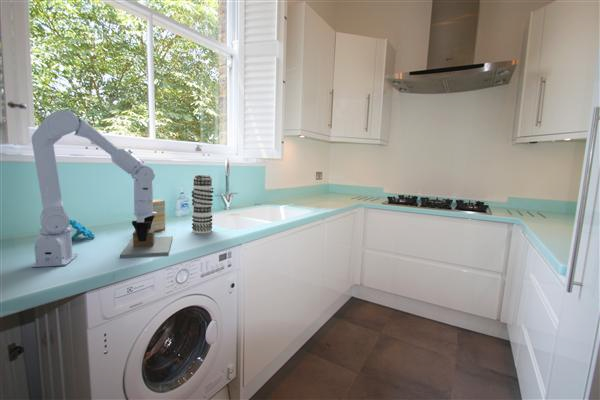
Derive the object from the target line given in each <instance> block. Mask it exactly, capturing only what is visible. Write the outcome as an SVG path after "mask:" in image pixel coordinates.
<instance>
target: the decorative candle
mask: <svg viewBox="0 0 600 400" xmlns="http://www.w3.org/2000/svg"><path fill="white" fill-rule="evenodd" d="M192 179H193V185H192V190H191V197H192V198H191V201H192V203H191V205H192V206H193V211H192V216H191V217H192V219H191V222H192V223H191V226H192V227H191V229H192V233H194V234H209V233H212V232H213V226H212V225H213V222H212V221H213V219H212V218H213V215H212V214H213V213H212V207H213V205H214V204H213V203H212V202H213V201H214V199H213V198H214V195H212V194H213V193H214V187H213V185H212V183H213V182H212V181H213V178H212V177H211V176H210V175H209V174H196V175H194V176H193V178H192Z"/></svg>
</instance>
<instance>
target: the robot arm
mask: <svg viewBox="0 0 600 400" xmlns="http://www.w3.org/2000/svg"><path fill="white" fill-rule="evenodd" d="M74 132H75V133H74ZM72 133H74V136H78V137H81V138H85V139H88V140H89V141H90V142H91V143H93V144H94V145H95V146H97V147H99V148H100V149H101V150H103V151H104V152H105V153H107V154H108V155H110V157H111V162H112V163H113V164H115V165H116V166H117V167H119V168H120V169H121V170H123V171H124V172H125V173H126V174H128V175H130V176H131V178H132V179H133V200H134V201H133V204H134V205H133V207H134V208H133V210H134V211H133V216H134V217H136V220H132V221H131V224H132V226H133V228H134V231H135V230H136V233H137V237H138V240H139V242H140V241H146V239H147V233H148V229H151V224H152V221H153V219H154V217H155V215H156V214H157V212H153V200H154V196H153V195H154V193H153V188H154V187H153V180H154V179H155V177H156V174H155V173H154V170H153V168H151V167H150V166H147V165H145V161H143V160H140V159H138V157H136V156H135V155H133V151H132V150H131V149H126V148H118V147H117V146H116V145H115V144H114V143H113V142H111V141H110V139H108V138H107V137H105V136H104V135H103V134H102V133H100V131H98V130H97V129H96V128H95V127H94V126H93V125H91V124H90V123H88V122H87V121H86V120H84V119H82V118H81V117H77V115H76V114H75V113H74V112H72V111H70V110H66V109H58V110H55V111H54V112H51V113H50V114H48V115H47V116H46V117H45V118H44V119H43V120H42V122H41V123H40V124H39V126H38V127H37V128H36V130H35V131H34V132H33V134H32V136H31V144H32V151H33V156H34V161H35V167H36V173H37V180H38V187H39V192H40V197H41V203H42V211H41V213H40V226H41V228H40V229H39V231H38V233H39V238H38V239H37V240H36V242H35V244H34V256H35V258H34V259H35V263H33V264H32V265H31V267H32V268H41V267H55V266H56V267H57V266H67V265H68V264H69V263H70V262H72V261H73V260H74V259H75V258H77V256H78V255H79V254H78V253H73V240H72V238H71V237H72V228H71V227H70V220H71V219H70V217H69V216H68V213H67V211H66V210H65V209H64V205H63V198H62V192H61V186H60V185H61V184H60V178H59V171H58V166H57V160H56V152H55V147H54V146H55V144H56V143H57V142H58V141H59V140H60V139H62V138H63V137H64V136H67V135H69V134H72Z"/></svg>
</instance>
